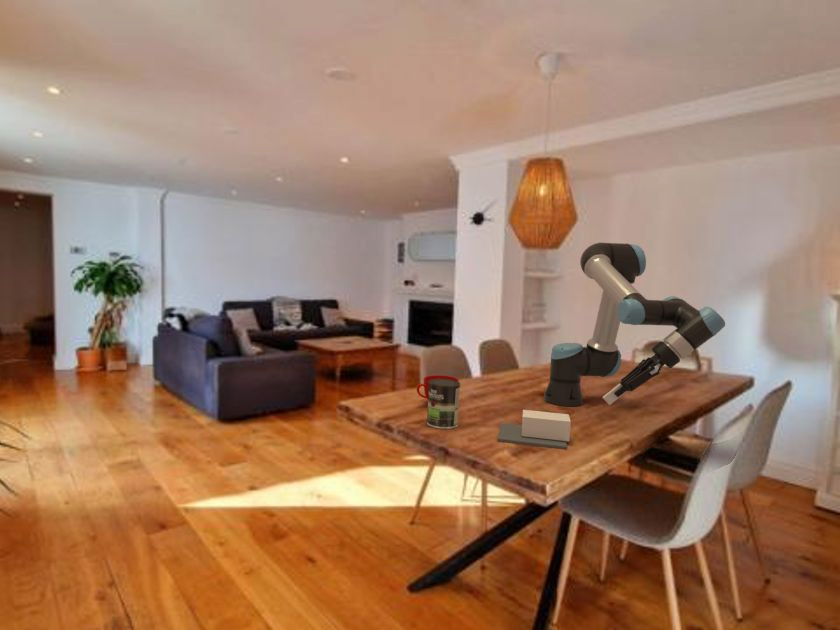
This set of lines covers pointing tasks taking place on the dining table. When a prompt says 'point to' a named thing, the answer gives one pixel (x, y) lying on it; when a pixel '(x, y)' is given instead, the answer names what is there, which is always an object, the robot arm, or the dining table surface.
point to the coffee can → (443, 403)
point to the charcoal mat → (514, 432)
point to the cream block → (546, 425)
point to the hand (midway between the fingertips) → (606, 401)
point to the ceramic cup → (426, 383)
